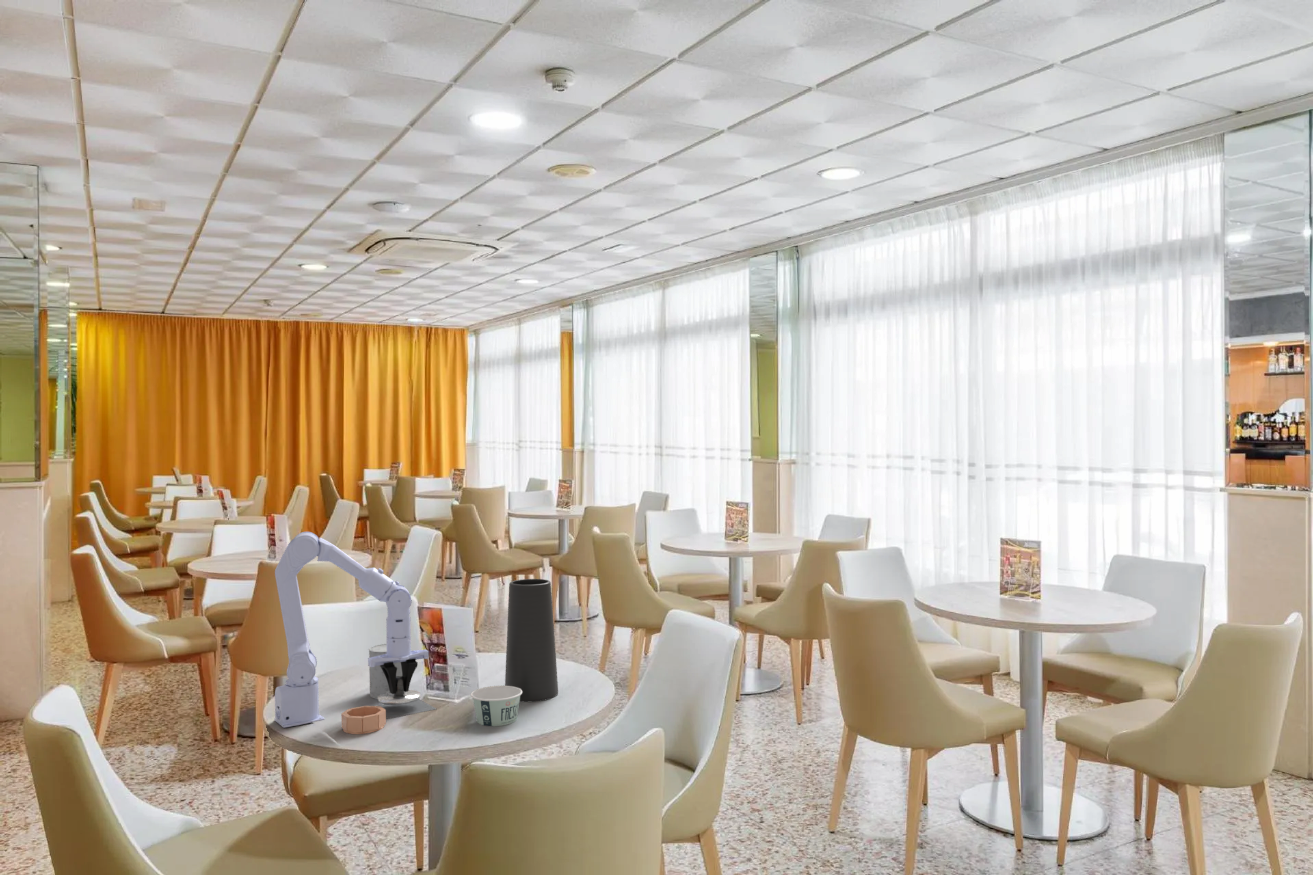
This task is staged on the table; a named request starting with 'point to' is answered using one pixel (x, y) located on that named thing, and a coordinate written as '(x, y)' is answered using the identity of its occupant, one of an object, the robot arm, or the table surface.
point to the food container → (496, 705)
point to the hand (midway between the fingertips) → (399, 691)
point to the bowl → (363, 719)
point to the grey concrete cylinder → (380, 672)
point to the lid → (399, 694)
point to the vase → (531, 640)
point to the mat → (406, 708)
